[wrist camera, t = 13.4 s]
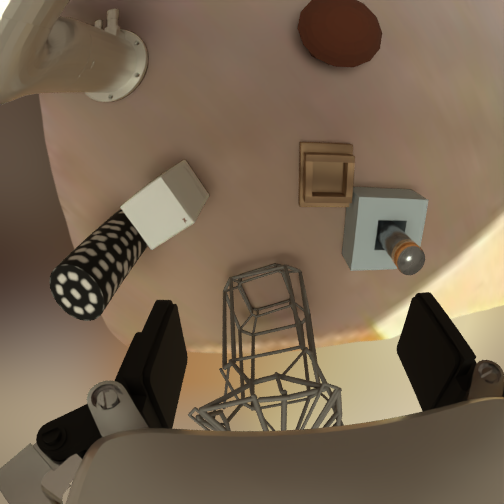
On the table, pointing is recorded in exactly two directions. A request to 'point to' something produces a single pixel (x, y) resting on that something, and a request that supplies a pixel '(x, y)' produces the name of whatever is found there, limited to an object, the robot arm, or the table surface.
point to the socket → (366, 222)
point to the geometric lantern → (318, 387)
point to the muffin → (340, 32)
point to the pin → (400, 247)
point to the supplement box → (166, 204)
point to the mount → (326, 174)
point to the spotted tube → (97, 268)
